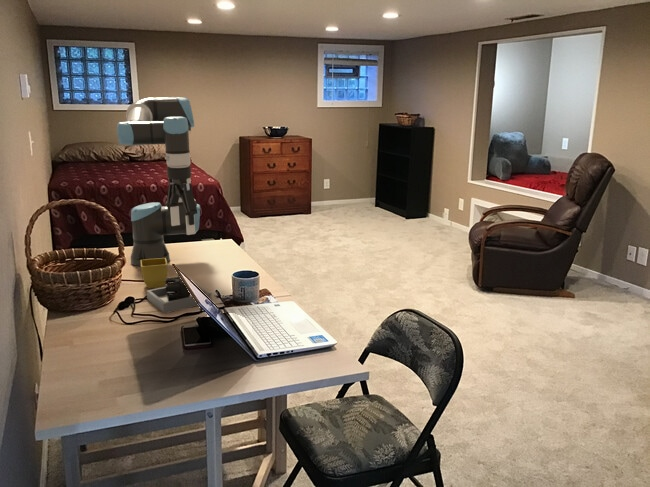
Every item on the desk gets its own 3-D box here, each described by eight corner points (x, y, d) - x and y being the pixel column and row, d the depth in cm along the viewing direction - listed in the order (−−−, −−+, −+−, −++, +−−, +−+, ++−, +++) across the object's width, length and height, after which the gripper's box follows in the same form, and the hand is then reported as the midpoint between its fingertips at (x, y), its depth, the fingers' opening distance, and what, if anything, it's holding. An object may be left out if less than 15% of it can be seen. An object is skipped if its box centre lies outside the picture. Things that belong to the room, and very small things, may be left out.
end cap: (191, 302, 184) (190, 282, 182) (169, 304, 181) (167, 284, 180) (188, 292, 193) (186, 273, 191) (166, 294, 191) (165, 275, 189)
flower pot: (167, 281, 207) (166, 257, 204) (169, 288, 199) (167, 264, 196) (142, 283, 204) (140, 259, 202) (143, 291, 196) (140, 266, 194)
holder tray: (147, 299, 188) (146, 290, 188) (192, 289, 197) (192, 281, 197) (163, 313, 177) (163, 303, 176) (211, 302, 186) (210, 293, 185)
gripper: (154, 162, 191) (159, 223, 197) (182, 172, 171) (186, 240, 177) (175, 160, 195) (180, 220, 201) (205, 170, 175) (209, 236, 181)
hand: (183, 229), depth 189 cm, fingers open, 13 cm apart
